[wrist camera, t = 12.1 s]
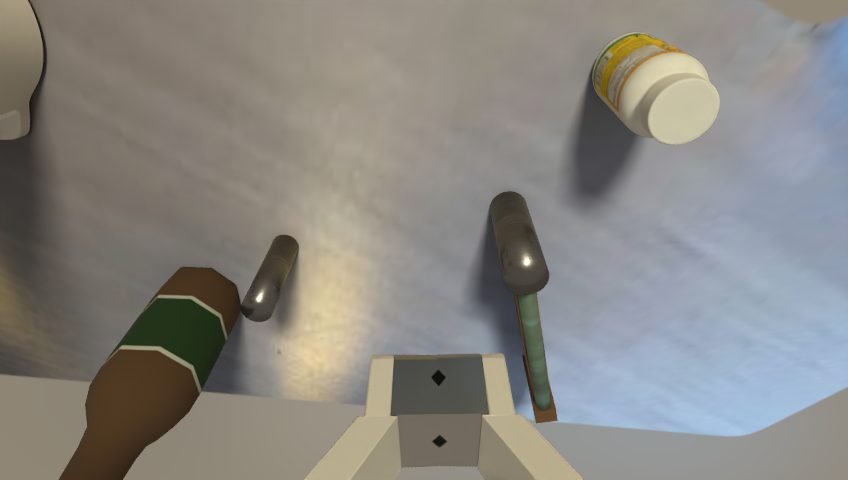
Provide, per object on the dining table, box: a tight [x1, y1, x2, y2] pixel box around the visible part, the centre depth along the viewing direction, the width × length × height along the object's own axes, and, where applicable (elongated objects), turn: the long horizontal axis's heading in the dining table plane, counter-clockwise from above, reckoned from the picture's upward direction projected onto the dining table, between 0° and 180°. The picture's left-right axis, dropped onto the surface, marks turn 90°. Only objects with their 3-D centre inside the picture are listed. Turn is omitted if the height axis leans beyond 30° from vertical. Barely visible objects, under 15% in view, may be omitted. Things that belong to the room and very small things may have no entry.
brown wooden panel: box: [514, 293, 557, 423], centre depth 44 cm, size 17×2×7 cm, turn 13°
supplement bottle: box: [592, 32, 720, 145], centre depth 32 cm, size 5×5×10 cm
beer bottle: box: [59, 267, 241, 480], centre depth 39 cm, size 8×8×24 cm
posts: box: [241, 192, 549, 322], centre depth 40 cm, size 24×3×10 cm, turn 102°
